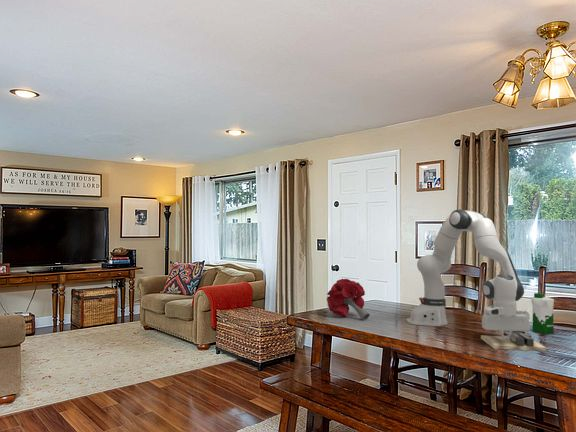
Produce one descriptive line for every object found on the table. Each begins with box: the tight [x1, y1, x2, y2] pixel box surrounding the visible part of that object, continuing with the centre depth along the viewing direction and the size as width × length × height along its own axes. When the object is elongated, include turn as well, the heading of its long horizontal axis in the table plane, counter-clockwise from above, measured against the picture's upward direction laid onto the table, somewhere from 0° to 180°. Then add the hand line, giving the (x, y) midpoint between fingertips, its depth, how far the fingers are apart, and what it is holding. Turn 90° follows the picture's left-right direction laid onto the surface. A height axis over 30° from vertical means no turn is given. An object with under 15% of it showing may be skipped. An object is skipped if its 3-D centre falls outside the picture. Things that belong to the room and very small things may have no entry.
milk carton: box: [530, 292, 555, 335], centre depth 218 cm, size 9×9×20 cm
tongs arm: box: [510, 332, 525, 346], centre depth 192 cm, size 13×3×3 cm, turn 170°
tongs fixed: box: [512, 331, 535, 346], centre depth 194 cm, size 16×6×5 cm, turn 173°
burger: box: [503, 331, 532, 338], centre depth 209 cm, size 12×12×8 cm
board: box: [480, 335, 548, 352], centre depth 194 cm, size 22×18×2 cm
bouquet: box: [326, 278, 370, 321], centre depth 252 cm, size 21×23×30 cm
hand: (505, 340), depth 192 cm, fingers closed
